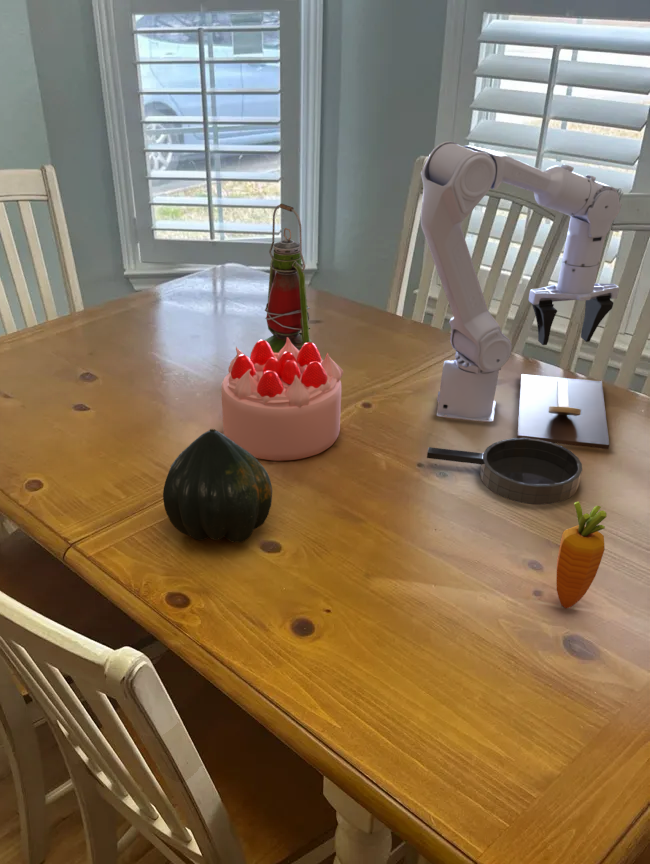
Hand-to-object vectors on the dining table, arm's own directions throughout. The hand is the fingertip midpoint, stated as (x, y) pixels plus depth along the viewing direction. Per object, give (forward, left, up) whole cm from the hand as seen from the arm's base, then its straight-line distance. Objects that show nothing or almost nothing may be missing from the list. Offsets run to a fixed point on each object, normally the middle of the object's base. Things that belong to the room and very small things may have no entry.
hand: (563, 341), depth 140 cm
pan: (-4, -30, -10) cm, 32 cm away
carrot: (+1, -59, -11) cm, 60 cm away
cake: (-44, -24, -11) cm, 51 cm away
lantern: (-50, +3, -11) cm, 51 cm away
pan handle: (-15, -30, -8) cm, 35 cm away
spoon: (+1, -7, -11) cm, 13 cm away
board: (+1, -6, -10) cm, 12 cm away
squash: (-46, -53, -11) cm, 71 cm away
